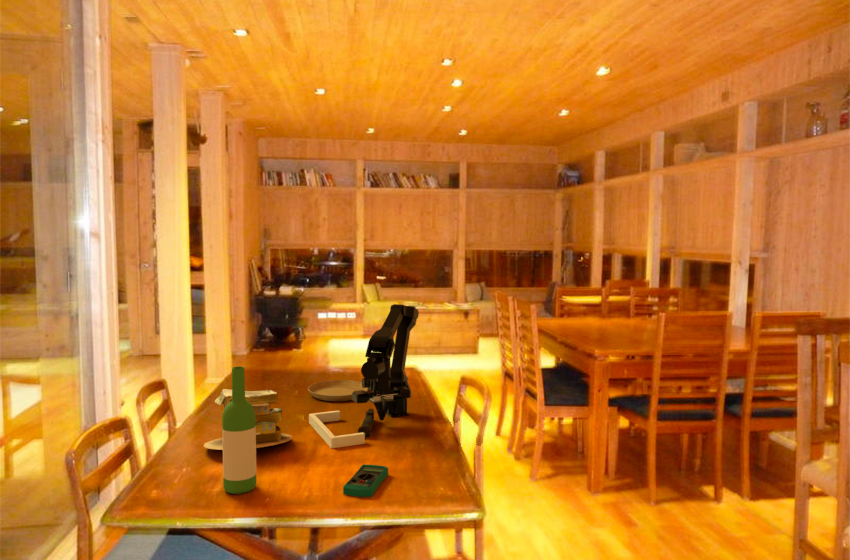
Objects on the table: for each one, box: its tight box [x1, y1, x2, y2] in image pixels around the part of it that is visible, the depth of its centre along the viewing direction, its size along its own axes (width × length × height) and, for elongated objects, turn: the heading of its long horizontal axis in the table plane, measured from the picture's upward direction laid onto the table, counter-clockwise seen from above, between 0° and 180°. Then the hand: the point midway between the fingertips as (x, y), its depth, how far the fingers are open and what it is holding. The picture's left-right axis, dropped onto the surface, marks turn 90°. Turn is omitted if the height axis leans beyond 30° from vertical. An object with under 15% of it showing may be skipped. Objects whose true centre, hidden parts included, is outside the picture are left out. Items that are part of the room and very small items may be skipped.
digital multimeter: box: [342, 463, 389, 498], centre depth 149 cm, size 7×15×3 cm, turn 167°
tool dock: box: [308, 410, 366, 449], centre depth 189 cm, size 10×27×3 cm, turn 25°
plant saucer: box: [307, 379, 369, 402], centre depth 235 cm, size 24×24×3 cm
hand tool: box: [357, 408, 375, 439], centre depth 193 cm, size 19×4×5 cm, turn 176°
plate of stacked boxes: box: [203, 388, 293, 451], centre depth 175 cm, size 25×25×17 cm
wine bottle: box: [221, 365, 257, 495], centre depth 145 cm, size 8×8×30 cm
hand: (381, 420), depth 195 cm, fingers closed
